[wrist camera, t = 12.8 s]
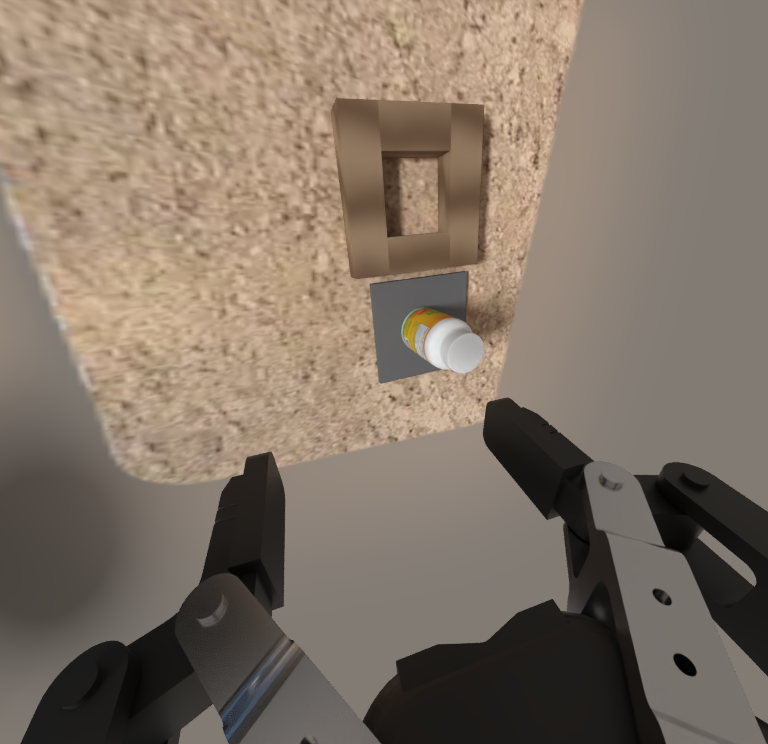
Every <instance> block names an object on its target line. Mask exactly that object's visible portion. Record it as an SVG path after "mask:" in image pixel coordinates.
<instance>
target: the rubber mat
mask: <svg viewBox="0 0 768 744" xmlns="http://www.w3.org/2000/svg"><path fill="white" fill-rule="evenodd" d="M466 288H467V272H466V271H463V272H455V273H448V274H440V275H433V276H426V277H418V278H411V279H403V280H396V281H388V282H381V283H373V284H370V292H371V303H372V313H373V323H374V334H375V344H376V354H377V365H378V375H379V382H380V383H386V382H390V381H394V380H398V379H403V378H407V377H411V376H416V375H420V374H424V373H428V372H433V371H437V370H441V369H440V368H437V367H435V366H433V365H432V364H431V363H429V362H428V361H427V360H425V359H424V358H422V357H421V356H419V355H418V354H417V353H415V352H414V351H413V350H411V349H410V348H409V347H408V346H407V345H406V344H405V343H404V341H403V338H402V334H401V330H402V325H403V322H404V320H405V318H406V317H407V315H408V314H409V313H410V312H412V311H413V310H415V309H417V308H421V307H427V308H431V309H434V310H437V311H439V312H442V313H444V314H447V315H449V316H452V317H455V318H457V319H460V320H462V321H464V322H465V319H466Z"/></svg>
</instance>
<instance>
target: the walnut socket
mask: <svg viewBox="0 0 768 744" xmlns="http://www.w3.org/2000/svg"><path fill="white" fill-rule="evenodd" d="M331 116H332V124H333V133H334V141H335V149H336V158H337V166H338V174H339V182H340V191H341V199H342V207H343V216H344V224H345V232H346V240H347V249H348V257H349V265H350V273H351V277H353V278H356V279H361V278H369V277H377V276H385V275H392V274H400V273H408V272H416V271H424V270H431V269H439V268H447V267H455V266H463V265H471V264H477V255H478V232H479V210H480V188H481V166H482V144H483V121H484V105H478V104H455V103H432V102H410V101H387V100H364V99H341V98H336V100H335V103H334V105H333V107H332V109H331ZM417 157H438V233H430V234H419V235H408V236H397V237H387V227H386V212H385V198H384V183H383V169H382V158H417Z"/></svg>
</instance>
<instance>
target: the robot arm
mask: <svg viewBox="0 0 768 744" xmlns="http://www.w3.org/2000/svg"><path fill="white" fill-rule="evenodd" d="M483 437H484V441H485V443H486V445H487V447H488V448H489V450H490V451H491V452H492V453H493V455H494V456H495V457H496V458H497V459H498V461H499V462H500V463H501V464H502V466H503V467H504V468H505V469H506V470H507V472H508V473H509V474H510V475H511V476H512V478H513V479H514V480H515V481H516V483H517V484H518V485H519V486H520V488H521V489H522V490H523V491H524V492H525V494H526V495H527V496H528V497H529V498H530V500H531V501H532V502H533V503H534V505H535V506H536V507H537V508H538V510H539V511H540V512H541V513H542V514H543V516H544V517H545V518H546V519H547V520H549V519H551V518H554V517H557V516H561V518H562V519H563V520H564V524H563V532H564V541H565V551H566V559H567V568H568V577H569V594H568V601H567V612H566V611H560V609H559V608H558V606H557V605H556V603H555V602H554V600H553V599H551V600H549V601H546V602H544V603H541V604H539V605H536V606H534V607H531V608H528V609H526V610H523V611H521V612H518V613H517V614H516V615H515V616H514V617H512V618H511V619H510V620H509V621H508V622H507V623H506V624H505V625H504V626H503V627H502V628H501V629H500V630H499V631H497V632H496V633H495V634H494V635H493V636H492V637H491V638H490V639H489V640H487V641H486V642H483V643H466V644H465V643H464V644H438V645H435V646H433V647H430V648H428V649H425V650H422V651H420V652H418V653H415V654H412V655H410V656H407V657H405V658H403V659H400V660H397V661H396V667H397V675H396V676H394V677H393V678H392V679H391V680H390V681H389V682H388V683H387V684H386V685H385V686H384V688H383V689H382V690H381V691H380V692H379V694H378V695H377V697H376V698H375V700H374V701H373V703H372V704H371V706H370V708H369V710H368V712H367V714H366V716H365V717H364V720H363V722H362V721H361V719H360V718H359V717H358V716H357V714H356V713H355V712H354V711H353V710H352V709H351V708H350V706H349V705H348V704H347V702H345V700H344V699H343V698H342V696H341V695H340V694H339V693H338V692H337V691H336V689H335V688H334V687H333V686H332V685H331V684H330V682H329V681H328V680H327V679H326V677H325V676H324V675H323V674H322V673H321V671H320V670H319V669H318V668H317V667H316V666H315V664H314V663H313V662H312V661H311V660H310V659H309V657H308V656H307V655H306V654H305V653H304V651H303V650H302V649H301V648H300V647H299V646H298V645H297V644H296V643H295V642H294V641H293V640H290V639H289V638H288V637H287V635H285V633H284V632H283V631H282V630H281V628H280V627H279V626H278V625H277V624H276V622H275V621H274V620H273V619H272V610H274V609H277V608H280V607H283V606H284V548H285V543H284V542H285V493H284V487H283V483H282V480H281V477H280V474H279V471H278V468H277V465H276V462H275V459H274V456H273V454H272V452H267V453H263V454H258V455H254V456H250V457H247V459H246V462H245V468H244V474H243V475H239V476H235V477H232V478H231V479H230V481H229V483H228V484H227V485H226V487H225V488H224V490H223V491H222V494H221V498H220V502H219V506H218V511H217V514H216V519H215V525H214V527H213V531H212V536H211V540H210V544H209V548H208V553H207V557H206V561H205V565H204V569H203V573H202V577H201V580H200V583H199V585H198V586H197V587H196V588H195V589H194V590H193V591H192V592H191V593H190V594H189V595H188V596H187V598H186V599H185V601H184V602H183V604H182V606H181V608H180V609H179V612H178V613H176V614H175V615H174V616H173V617H172V618H170V619H169V620H167V621H166V622H164V623H163V624H161V625H160V626H158V627H156V628H155V629H153V630H152V631H150V632H149V633H147V634H145V635H144V636H142V637H141V638H139V639H137V640H136V641H134V642H133V643H131V644H130V645H128V646H125V645H124V644H122V643H121V642H118V641H106V642H103V643H100V644H98V645H95V646H93V647H91V648H90V649H88V650H87V651H85V652H83V653H82V654H81V655H79V656H78V657H77V658H76V659H74V660H73V661H72V662H71V663H70V664H69V665H68V666H67V667H66V668H65V669H64V670H63V671H62V672H61V673H60V674H59V675H58V676H57V677H56V679H55V680H54V681H53V682H52V684H51V685H50V686H49V688H48V690H47V691H46V693H45V694H44V695H43V697H42V699H41V701H40V703H39V705H38V707H37V709H36V711H35V713H34V716H33V718H32V720H31V722H30V724H29V727H28V729H27V731H26V733H25V735H24V737H23V739H22V742H21V744H178V743H179V737H180V731H181V729H182V728H183V727H184V726H185V725H187V724H188V723H189V722H190V721H192V720H193V719H194V718H196V717H197V716H198V715H199V714H201V713H202V712H203V711H204V710H206V709H207V708H208V707H209V706H211V705H212V704H213V705H214V706H215V708H216V710H217V712H218V714H219V716H220V717H221V719H222V722H223V731H224V734H225V737H226V739H227V741H228V743H229V744H768V724H767V723H766V722H764V721H762V720H761V719H759V718H758V717H756V716H754V714H753V711H752V709H751V707H750V705H749V702H748V700H747V698H746V695H745V693H744V691H743V688H742V686H741V684H740V682H739V679H738V677H737V675H736V673H735V670H734V668H733V665H732V663H731V661H730V658H729V656H728V654H727V652H726V649H725V647H724V645H723V642H722V640H721V638H720V635H719V633H718V631H717V629H716V626H715V624H714V622H713V620H714V621H715V622H716V623H717V624H718V625H719V626H720V627H721V628H722V629H723V630H724V631H725V632H726V633H727V635H728V636H729V637H730V638H731V639H732V640H733V641H734V642H735V643H736V644H737V645H738V646H739V647H740V648H741V649H742V650H743V651H744V652H745V653H746V654H747V655H748V656H749V657H750V658H751V659H752V660H753V661H754V662H755V663H756V665H757V666H759V668H760V669H761V670H762V671H763V672H764V673H765V674H766V675H767V676H768V512H767V511H766V510H764V509H763V508H761V507H760V506H758V505H757V504H755V503H754V502H752V501H751V500H749V499H748V498H746V497H745V496H743V495H742V494H740V493H739V492H737V491H736V490H735V489H733V488H732V487H730V486H729V485H727V484H726V483H724V482H723V481H721V480H720V479H718V478H717V477H715V476H714V475H712V474H711V473H709V472H707V471H705V470H703V469H701V468H699V467H696V466H693V465H690V464H685V463H679V462H673V463H668V464H666V465H665V466H664V467H663V469H662V470H661V472H660V474H659V475H632V474H631V473H630V472H628V471H627V470H625V469H623V468H621V467H619V466H617V465H614V464H611V463H608V462H601V461H597V462H595V461H593V460H592V459H591V458H590V457H588V456H587V455H586V454H585V453H584V452H582V451H581V450H580V449H579V448H578V447H577V446H575V445H574V444H573V443H572V442H571V441H569V440H568V439H567V438H566V437H565V436H563V435H562V434H561V433H558V431H557V430H556V429H555V428H554V427H553V426H552V425H549V424H548V422H547V421H546V420H544V419H543V418H542V417H541V416H539V415H538V414H537V413H534V412H533V411H530V410H528V409H526V408H524V407H523V408H521V407H519V406H518V405H517V404H516V403H515V402H514V401H513V400H511V399H510V398H503V399H498V400H494V401H490V402H488V403H487V405H486V412H485V420H484V428H483ZM704 529H705V530H706V531H707V532H708V533H709V534H711V535H712V536H713V537H714V538H716V539H717V540H718V541H719V542H720V543H722V544H723V545H724V546H725V547H726V548H728V549H729V550H730V551H731V552H733V553H734V554H735V555H736V556H737V557H739V558H740V559H741V560H742V561H743V562H744V563H746V564H747V565H748V566H749V567H750V568H751V570H752V571H753V573H754V574H755V577H756V582H757V583H756V585H755V587H754V586H753V585H752V584H750V583H749V582H748V581H747V580H746V579H744V578H743V577H742V576H741V575H740V574H739V573H737V571H735V570H734V569H733V568H732V567H731V566H730V565H728V564H727V563H726V562H725V561H724V560H723V559H721V558H720V557H719V556H718V555H717V554H716V553H715V552H713V551H712V550H711V549H710V548H709V547H708V546H706V545H705V544H704V543H703V542H702V541H701V540H699V539H698V536H699V535H700V534H701V532H702V531H703V530H704Z"/></svg>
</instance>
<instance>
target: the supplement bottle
mask: <svg viewBox="0 0 768 744" xmlns="http://www.w3.org/2000/svg"><path fill="white" fill-rule="evenodd" d="M401 334H402V338H403V341H404V343H405V344H406V345H407V346H408V347H409V348H410V349H411V350H413V351H414V352H415V353H417V354H418V355H419V356H421V357H422V358H424V359H425V360H427V361H428V362H429V363H431V364H432V365H433V366H435V367H437V368H440V369H445V370H448V369H451V370H453V371H455V372H457V373H466V372H469V371H471V370H473V369H474V368H475V367H476V366H477V365H478V364H479V363H480V361H481V359H482V357H483V353H484V344H483V341H482V339H481V338H480V337H479V336H478V335H476V334H474V333H472V330H471V328H470V327H469V326H468V325H467V324H466V323H465V322H464V321H462V320H460V319H457V318H455V317H452V316H449V315H447V314H444V313H442V312H439V311H437V310H434V309H431V308H427V307H421V308H417V309H415V310H413V311H412V312H410V313H409V314H408V315H407V317H406V318H405V320H404V322H403V325H402V330H401Z"/></svg>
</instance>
